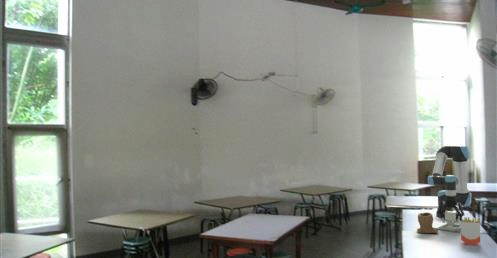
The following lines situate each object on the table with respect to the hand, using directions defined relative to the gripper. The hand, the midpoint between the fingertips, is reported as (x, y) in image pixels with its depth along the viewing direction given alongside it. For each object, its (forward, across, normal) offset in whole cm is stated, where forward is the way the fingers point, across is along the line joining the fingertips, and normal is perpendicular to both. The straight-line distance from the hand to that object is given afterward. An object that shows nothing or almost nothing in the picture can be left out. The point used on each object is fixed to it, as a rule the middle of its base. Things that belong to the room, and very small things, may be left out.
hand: (451, 223), depth 320 cm
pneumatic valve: (+2, -1, 0) cm, 2 cm away
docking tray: (+4, 0, 0) cm, 4 cm away
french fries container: (+5, +24, -36) cm, 44 cm away
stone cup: (+5, -9, -24) cm, 26 cm away
